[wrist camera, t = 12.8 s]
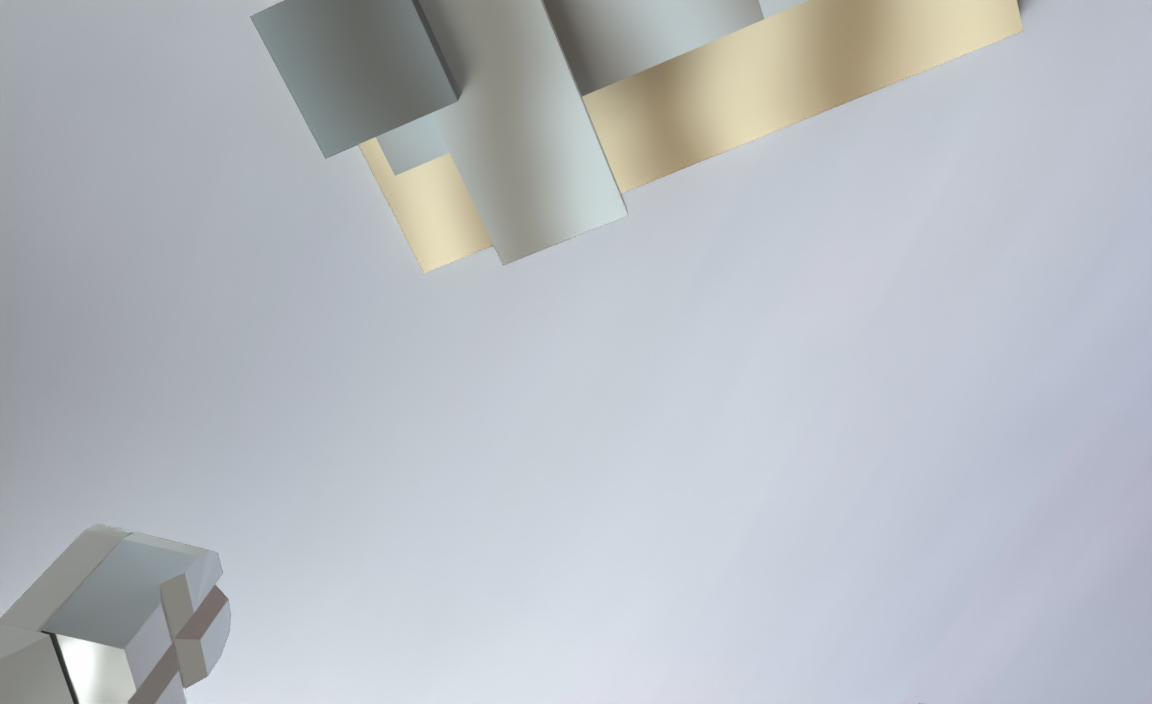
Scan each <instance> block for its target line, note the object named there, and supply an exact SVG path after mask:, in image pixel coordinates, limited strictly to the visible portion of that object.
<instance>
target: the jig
mask: <svg viewBox="0 0 1152 704" xmlns="http://www.w3.org/2000/svg"><path fill="white" fill-rule="evenodd" d="M250 17H251V19H252V21H253V23H254V25H255V27H256V29H257V30H258V32H259V34H260V36H261V38H262V40H263V42H264V44H265V46H266V47H267V49H268V51H269V53H270V55H271V57H272V59H273V61H274V63H275V64H276V66H277V68H278V70H279V72H280V74H281V76H282V78H283V80H284V81H285V83H286V85H287V87H288V89H289V91H290V93H291V95H292V96H293V98H294V100H295V102H296V104H297V106H298V108H299V110H300V112H301V113H302V115H303V117H304V119H305V121H306V123H307V125H308V127H309V129H310V130H311V132H312V134H313V136H314V138H315V140H316V142H317V144H318V146H319V147H320V149H321V151H322V153H323V155H324V157H325V159H326V158H328V157H331V156H333V155H335V154H338V153H340V152H342V151H345V150H347V149H349V148H351V147H354V146H356V145H358V146H359V148H360V150H361V151H362V153H363V155H364V157H365V159H366V161H367V163H368V165H369V167H370V169H371V171H372V173H373V175H374V177H375V179H376V181H377V183H378V185H379V187H380V189H381V190H382V192H383V194H384V196H385V198H386V200H387V202H388V204H389V206H390V208H391V210H392V212H393V214H394V216H395V218H396V220H397V222H398V224H399V226H400V228H401V229H402V231H403V233H404V235H405V237H406V239H407V241H408V243H409V245H410V247H411V249H412V251H413V253H414V255H415V257H416V259H417V261H418V263H419V265H420V267H421V268H422V270H423V272H424V273H427V272H429V271H432V270H434V269H437V268H439V267H442V266H444V265H446V264H449V263H451V262H454V261H456V260H459V259H461V258H464V257H466V256H469V255H471V254H474V253H476V252H479V251H481V250H484V249H486V248H488V247H491V246H493V245H494V247H495V249H496V251H497V253H498V256H499V258H500V260H501V262H502V264H503V265H506V264H508V263H511V262H513V261H516V260H518V259H521V258H523V257H526V256H528V255H531V254H533V253H536V252H538V251H541V250H543V249H546V248H548V247H551V246H553V245H556V244H558V243H561V242H563V241H566V240H568V239H571V238H573V237H576V236H578V235H581V234H583V233H586V232H588V231H591V230H593V229H596V228H598V227H601V226H603V225H606V224H608V223H611V222H613V221H616V220H618V219H621V218H623V217H626V216H628V212H627V207H626V204H625V202H624V199H623V197H622V193H624V192H627V191H629V190H632V189H634V188H637V187H639V186H642V185H644V184H647V183H649V182H652V181H654V180H656V179H659V178H661V177H664V176H666V175H669V174H671V173H674V172H676V171H679V170H681V169H684V168H686V167H689V166H691V165H694V164H696V163H698V162H701V161H703V160H706V159H708V158H711V157H713V156H716V155H718V154H721V153H723V152H726V151H728V150H731V149H733V148H736V147H738V146H740V145H743V144H745V143H748V142H750V141H753V140H755V139H758V138H760V137H763V136H765V135H768V134H770V133H773V132H775V131H778V130H780V129H782V128H785V127H787V126H790V125H792V124H795V123H797V122H800V121H802V120H805V119H807V118H810V117H812V116H815V115H817V114H820V113H822V112H825V111H827V110H829V109H832V108H834V107H837V106H839V105H842V104H844V103H847V102H849V101H852V100H854V99H857V98H859V97H862V96H864V95H867V94H869V93H871V92H874V91H876V90H879V89H881V88H884V87H886V86H889V85H891V84H894V83H896V82H899V81H901V80H904V79H906V78H909V77H911V76H913V75H916V74H918V73H921V72H923V71H926V70H928V69H931V68H933V67H936V66H938V65H941V64H943V63H946V62H948V61H951V60H953V59H955V58H958V57H960V56H963V55H965V54H968V53H970V52H973V51H975V50H978V49H980V48H983V47H985V46H988V45H990V44H993V43H995V42H997V41H1000V40H1002V39H1005V38H1007V37H1010V36H1012V35H1015V34H1017V33H1020V32H1022V31H1023V27H1022V22H1021V18H1020V13H1019V8H1018V3H1017V0H284V1H282V2H280V3H278V4H276V5H274V6H272V7H269V8H267V9H265V10H263V11H261V12H259V13H256V14H254V15H252V16H250Z"/></svg>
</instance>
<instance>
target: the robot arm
mask: <svg viewBox="0 0 1152 704" xmlns="http://www.w3.org/2000/svg"><path fill="white" fill-rule="evenodd" d="M222 574H223V570H222V566H221V562H220V558H219V554H218V553H217V552H214V551H210V550H207V549H203V548H199V547H195V546H191V545H187V544H183V543H179V542H175V541H171V540H167V539H162V538H158V537H154V536H150V535H146V534H142V533H138V532H133V531H129V530H124V529H120V528H116V527H112V526H107V525H103V524H97V525H95V526H93V527H90V528H88V529H86V530H85V531H83V532H82V533H81V534H80V535H79V536H78V537H77V538H76V540H75V541H74V542H73V543H72V544H71V545H70V546H69V547H68V548H67V549H66V550H65V551H64V552H63V553H62V554H61V555H60V556H59V557H58V558H57V559H56V560H55V561H54V563H53V564H52V565H51V566H50V567H49V568H48V569H47V570H46V571H45V572H44V573H43V574H42V575H41V576H40V577H39V578H38V579H37V580H36V581H35V582H34V583H33V584H32V586H31V587H30V588H29V589H28V590H27V591H26V592H25V593H24V594H23V595H22V596H21V597H20V598H19V599H18V600H17V601H16V602H15V603H14V604H13V605H12V606H11V608H10V609H9V610H8V611H7V612H6V613H5V614H4V615H3V616H2V617H1V618H0V704H187V699H186V688H187V687H189V686H191V685H193V684H195V683H196V682H198V681H200V680H202V679H203V678H205V677H207V676H208V675H209V674H210V672H211V670H212V669H213V667H214V666H215V664H216V663H217V661H218V659H219V658H220V656H221V654H222V651H223V648H224V646H225V643H226V640H227V637H228V634H229V631H230V619H231V612H230V606H229V600H228V598H227V597H226V596H225V595H224V594H223V593H222V592H221V590H220V589H219V588H218V587H217V586H216V585H215V583H216V582H217V581H218V579H219V578H220V577H221V575H222ZM918 704H923V703H918Z"/></svg>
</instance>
